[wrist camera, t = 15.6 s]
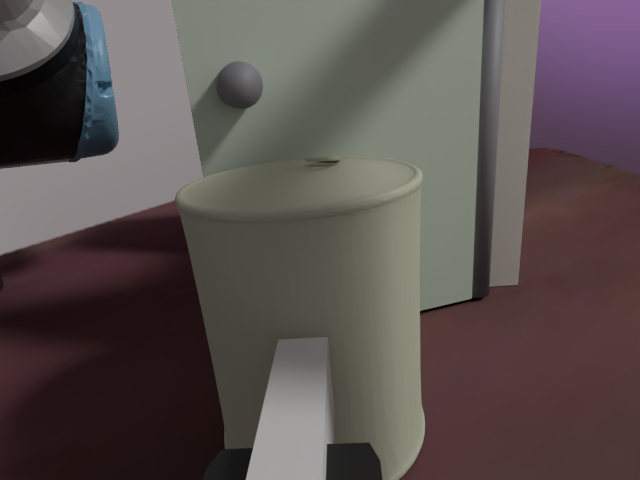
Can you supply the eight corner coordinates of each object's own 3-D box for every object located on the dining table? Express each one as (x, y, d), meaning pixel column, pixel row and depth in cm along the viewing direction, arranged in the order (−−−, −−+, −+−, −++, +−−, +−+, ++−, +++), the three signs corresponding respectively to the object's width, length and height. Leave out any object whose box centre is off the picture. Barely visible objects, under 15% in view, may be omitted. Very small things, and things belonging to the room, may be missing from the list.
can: (433, 371, 22) (435, 141, 18) (410, 540, 14) (403, 196, 10) (275, 350, 26) (247, 149, 21) (182, 480, 17) (108, 196, 13)
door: (230, 328, 28) (163, -45, 21) (465, 276, 32) (477, -49, 25) (238, 371, 23) (156, -83, 16) (509, 304, 28) (538, -80, 21)
